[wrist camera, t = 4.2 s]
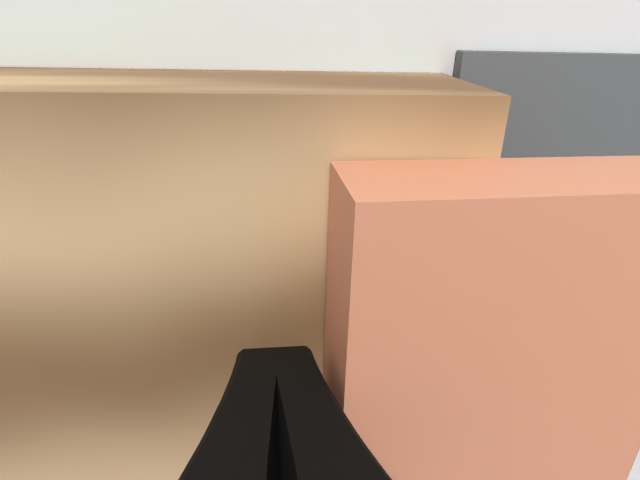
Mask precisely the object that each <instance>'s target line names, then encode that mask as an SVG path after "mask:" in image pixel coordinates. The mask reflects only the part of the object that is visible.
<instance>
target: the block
mask: <svg viewBox="0 0 640 480" xmlns="http://www.w3.org/2000/svg"><path fill="white" fill-rule="evenodd" d="M323 377H324V379H325V381H326V383H327V385H328V386H329V388H330V390H331V392H332V394H333V395H334V397H335V399H336V400H337V402H338V404H339V405H340V407H341V408H342V410H343V411H344V413H345V415H346V416H347V418H348V419H349V421H350V422H351V424H352V425H353V427H354V428H355V430H356V432H357V433H358V434H359V436H360V437H361V439H362V440H363V442H364V443H365V444H366V446H367V447H368V449H369V450H370V451H371V453H372V454H373V455H374V457H375V458H376V459H377V461H378V462H379V463H380V465H381V466H382V467H383V469H384V470H385V471H386V473H387V474H388V475H389V476H390V478H391V479H392V480H627V477H628V475H629V473H630V470H631V468H632V465H633V463H634V461H635V458H636V456H637V453H638V451H639V449H640V155H639V156H584V157H530V158H475V159H421V160H366V161H330V185H329V215H328V245H327V275H326V305H325V335H324V365H323Z"/></svg>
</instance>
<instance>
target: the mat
mask: <svg viewBox="0 0 640 480" xmlns="http://www.w3.org/2000/svg"><path fill="white" fill-rule="evenodd" d="M453 77H455V78H458V79H461V80H464V81H467V82H470V83H473V84H476V85H479V86H482V87H486V88H489V89H492V90H495V91H498V92H501V93H504V94H507V95H510V96H512V97H511V102H510V108H509V113H508V119H507V124H506V130H505V135H504V140H503V146H502V151H501V157H500V158H530V157H584V156H639V155H640V54H619V53H566V52H514V51H462V50H457V52H456V60H455V67H454V75H453Z"/></svg>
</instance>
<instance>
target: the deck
mask: <svg viewBox="0 0 640 480" xmlns="http://www.w3.org/2000/svg"><path fill="white" fill-rule="evenodd" d="M511 97H512V96H510V95H507V94H504V93H501V92H498V91H495V90H492V89H489V88H486V87H482V86H479V85H476V84H473V83H470V82H467V81H464V80H461V79H458V78H455V77H452V76H449V75H446V74H443V73H399V72H325V71H251V70H177V69H103V68H28V67H0V480H178V479H179V478H180V476H181V474H182V472H183V471H184V469H185V467H186V465H187V464H188V462H189V460H190V458H191V457H192V455H193V453H194V451H195V450H196V448H197V446H198V444H199V443H200V441H201V439H202V437H203V435H204V433H205V431H206V429H207V427H208V425H209V423H210V421H211V419H212V417H213V415H214V413H215V411H216V409H217V407H218V405H219V403H220V401H221V398H222V396H223V394H224V391H225V389H226V387H227V384H228V382H229V379H230V377H231V374H232V371H233V368H234V365H235V362H236V358H237V354H238V353H239V352H240V351H241V350H242V349H250V348H269V347H288V346H307V347H308V348H309V349H310V350H311V351H312V354H313V356H314V359H315V361H316V363H317V365H318V367H319V369H320V371H321V373H322V375H323V365H324V335H325V305H326V275H327V245H328V215H329V185H330V161H366V160H421V159H475V158H500V157H501V151H502V146H503V140H504V135H505V130H506V124H507V119H508V113H509V108H510V102H511Z"/></svg>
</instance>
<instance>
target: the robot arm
mask: <svg viewBox="0 0 640 480" xmlns="http://www.w3.org/2000/svg"><path fill="white" fill-rule="evenodd" d="M178 480H392V479H391V478H390V476H389V475H388V474H387V473H386V471H385V470H384V469H383V467H382V466H381V465H380V463H379V462H378V461H377V459H376V458H375V457H374V455H373V454H372V453H371V451H370V450H369V449H368V447H367V446H366V444H365V443H364V442H363V440H362V439H361V437H360V436H359V434H358V433H357V432H356V430H355V428H354V427H353V425H352V424H351V422H350V421H349V419H348V418H347V416H346V415H345V413H344V411H343V410H342V408H341V407H340V405H339V404H338V402H337V400H336V399H335V397H334V395H333V394H332V392H331V390H330V388H329V386H328V385H327V383H326V381H325V379H324V377H323V375H322V373H321V371H320V369H319V367H318V365H317V363H316V361H315V359H314V356H313V354H312V351H311V350H310V349H309V348H308V347H307V346H288V347H269V348H250V349H242V350H241V351H240V352H239V353H238V354H237V358H236V362H235V365H234V368H233V371H232V374H231V377H230V379H229V382H228V384H227V387H226V389H225V391H224V394H223V396H222V398H221V401H220V403H219V405H218V407H217V409H216V411H215V413H214V415H213V417H212V419H211V421H210V423H209V425H208V427H207V429H206V431H205V433H204V435H203V437H202V439H201V441H200V443H199V444H198V446H197V448H196V450H195V451H194V453H193V455H192V457H191V458H190V460H189V462H188V464H187V465H186V467H185V469H184V471H183V472H182V474H181V476H180V478H179V479H178Z"/></svg>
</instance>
